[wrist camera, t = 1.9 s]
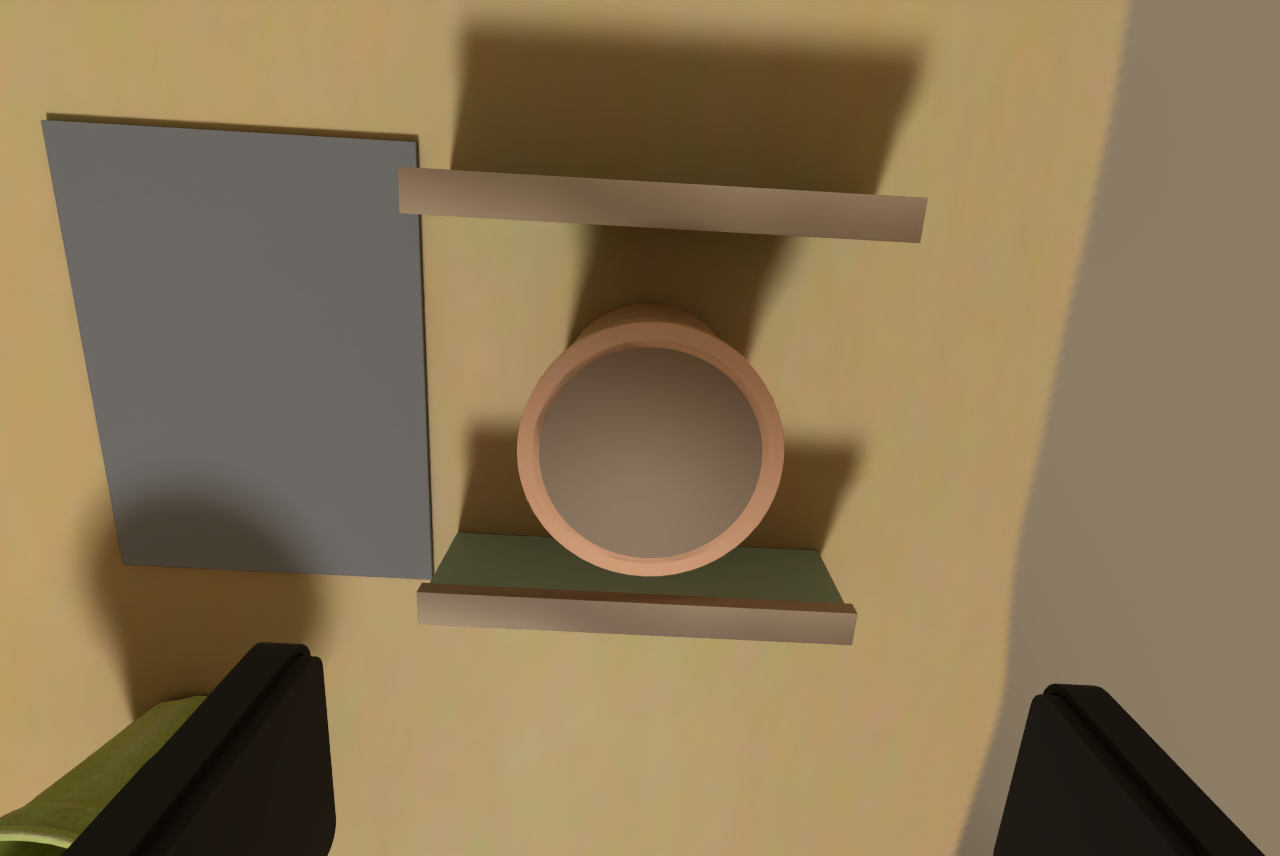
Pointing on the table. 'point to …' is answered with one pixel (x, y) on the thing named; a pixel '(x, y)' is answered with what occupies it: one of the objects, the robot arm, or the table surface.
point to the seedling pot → (650, 444)
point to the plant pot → (90, 784)
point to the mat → (251, 345)
